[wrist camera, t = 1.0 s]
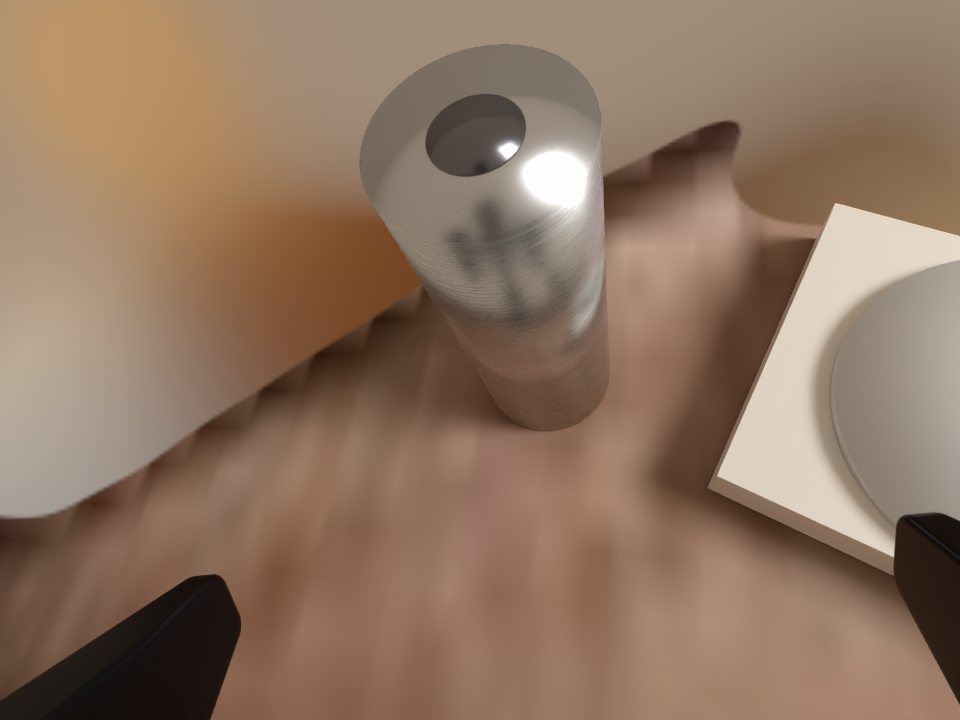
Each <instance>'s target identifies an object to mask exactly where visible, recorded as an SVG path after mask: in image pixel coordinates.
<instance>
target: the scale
mask: <svg viewBox="0 0 960 720" xmlns="http://www.w3.org/2000/svg"><path fill="white" fill-rule="evenodd" d="M707 488H708V489H710V490H712V491H714V492H716V493H719V494H721V495H723V496H725V497H727V498H729V499H731V500H733V501H736V502H738V503H740V504H742V505H744V506H746V507H748V508H750V509H753V510H755V511H757V512H759V513H761V514H763V515H765V516H767V517H770V518H772V519H774V520H776V521H778V522H780V523H782V524H784V525H787V526H789V527H791V528H793V529H795V530H797V531H799V532H801V533H804V534H806V535H808V536H810V537H812V538H814V539H816V540H818V541H820V542H823V543H825V544H827V545H829V546H831V547H833V548H835V549H837V550H840V551H842V552H844V553H846V554H848V555H850V556H852V557H854V558H857V559H859V560H861V561H863V562H865V563H867V564H869V565H871V566H874V567H876V568H878V569H880V570H882V571H884V572H886V573H888V574H891V575H893V576H894V573H893V563H894V548H895V532H896V524H897V521H898V519H899V518H900V517H901V516H903V515H906V514H916V513H927V512H939V513H943V514H946V515H948V516H950V517H953V518H955V519H957V520H960V236H957V235H953V234H950V233H946V232H942V231H938V230H935V229H931V228H927V227H923V226H919V225H916V224H912V223H908V222H904V221H900V220H897V219H893V218H889V217H886V216H882V215H878V214H874V213H871V212H867V211H863V210H860V209H855V208H852V207H848V206H844V205H841V204H837V203H835V205H834V207H833V209H832V210H831V213H830V214H829V216H828V218H827V220H826V221H825V223H824V225H823V227H822V228H821V230H820V232H819V234H818V236H817V238H816V240H815V242H814V244H813V247H812V249H811V251H810V253H809V256H808V258H807V260H806V263H805V265H804V267H803V269H802V272H801V274H800V276H799V279H798V281H797V283H796V285H795V288H794V290H793V292H792V295H791V297H790V299H789V302H788V304H787V306H786V308H785V311H784V313H783V315H782V318H781V320H780V322H779V324H778V327H777V329H776V331H775V334H774V336H773V338H772V340H771V343H770V345H769V347H768V350H767V352H766V354H765V356H764V359H763V361H762V363H761V366H760V368H759V370H758V372H757V375H756V377H755V379H754V382H753V384H752V386H751V388H750V391H749V393H748V395H747V398H746V400H745V402H744V405H743V407H742V409H741V411H740V414H739V416H738V418H737V421H736V423H735V425H734V427H733V430H732V432H731V434H730V437H729V439H728V441H727V443H726V446H725V448H724V450H723V453H722V455H721V457H720V459H719V462H718V464H717V466H716V469H715V471H714V473H713V475H712V478H711V480H710V482H709V485H708V487H707Z"/></svg>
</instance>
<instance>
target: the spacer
mask: <svg viewBox="0 0 960 720" xmlns="http://www.w3.org/2000/svg"><path fill="white" fill-rule="evenodd" d="M602 168H603V167H602V138H601V113H600V108H599V103H598V100H597V97H596V95H595V92H594V90H593V88H592V87H591V85H590V83H589V82H588V81H587V79H586V78H585V77H584V76H583V75H582V73H581V72H580V71H579V70H578V69H577V68H575V67H574V66H573V65H571V64H570V63H569V62H567V61H566V60H564V59H562V58H561V57H559V56H557V55H555V54H552V53H550V52H548V51H545V50H541V49H538V48H534V47H529V46H522V45H509V44H500V45H487V46H480V47H474V48H470V49H466V50H462V51H459V52H456V53H453V54H450V55H447V56H445V57H443V58H440V59H438V60H436V61H434V62H432V63H430V64H428V65H426V66H425V67H423V68H421V69H419V70H418V71H416V72H415V73H414V74H412V75H411V76H409V77H408V78H407V79H405V80H404V81H403V82H402V83H401V84H399V85H398V86H397V87H396V88H395V89H394V90H393V91H392V92H391V93H390V94H389V95H388V96H387V97H386V99H385V100H384V101H383V102H382V104H381V105H380V106H379V107H378V109H377V111H376V112H375V114H374V115H373V117H372V119H371V121H370V123H369V125H368V127H367V129H366V132H365V135H364V138H363V141H362V145H361V151H360V173H361V179H362V182H363V185H364V188H365V191H366V193H367V194H368V196H369V198H370V200H371V202H372V203H373V204H374V207H375V208H376V210H377V212H378V213H379V215H380V216H381V218H382V220H383V221H384V223H385V225H386V226H387V228H388V229H389V231H390V233H391V234H392V236H393V237H394V239H395V241H396V242H397V244H398V245H399V247H400V249H401V250H402V252H403V254H404V255H405V257H406V258H407V260H408V262H409V263H410V265H411V266H412V268H413V270H414V271H415V273H416V275H417V276H418V278H419V279H420V281H421V283H422V284H423V286H424V288H425V289H426V291H427V292H428V294H429V296H430V297H431V299H432V300H433V302H434V304H435V305H436V307H437V309H438V310H439V312H440V313H441V315H442V317H443V318H444V320H445V322H446V323H447V325H448V326H449V328H450V330H451V331H452V333H453V334H454V336H455V338H456V339H457V341H458V343H459V344H460V346H461V347H462V349H463V351H464V352H465V354H466V355H467V357H468V359H469V360H470V362H471V364H472V365H473V367H474V368H475V370H476V372H477V373H478V375H479V376H480V378H481V380H482V381H483V383H484V385H485V386H486V388H487V389H488V391H489V393H490V394H491V396H492V398H493V399H494V401H495V402H496V404H497V405H498V407H499V408H500V410H501V411H502V412H503V413H504V414H505V415H506V416H507V417H508V418H510V419H511V420H512V421H514V422H516V423H517V424H519V425H521V426H524V427H526V428H529V429H533V430H539V431H554V430H561V429H564V428H568V427H570V426H573V425H575V424H577V423H579V422H581V421H582V420H584V419H585V418H586V417H588V416H589V415H590V414H591V413H592V412H593V411H594V410H595V409H596V408H597V406H598V405H599V404H600V402H601V400H602V399H603V397H604V395H605V392H606V390H607V386H608V382H609V349H608V319H607V288H606V258H605V227H604V197H603V169H602Z"/></svg>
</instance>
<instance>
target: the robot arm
mask: <svg viewBox="0 0 960 720" xmlns="http://www.w3.org/2000/svg"><path fill="white" fill-rule="evenodd" d="M893 573H894V578H895V582H896V585H897V588H898V590H899V592H900V594H901V596H902V598H903V600H904V602H905V603H906V605H907V607H908V609H909V611H910V613H911V615H912V617H913V618H914V620H915V622H916V624H917V626H918V628H919V630H920V632H921V633H922V635H923V637H924V639H925V641H926V643H927V645H928V647H929V648H930V650H931V652H932V654H933V656H934V658H935V660H936V662H937V663H938V665H939V667H940V669H941V671H942V673H943V675H944V676H945V678H946V680H947V682H948V684H949V686H950V688H951V690H952V691H953V693H954V695H955V697H956V699H957V701H958V702H959V704H960V520H957V519H955V518H953V517H950V516H948V515H946V514H943V513H939V512H927V513H916V514H906V515H903V516H901V517H900V518H899V519H898V521H897V524H896V532H895V548H894V563H893ZM240 631H241V618H240V614H239V612H238V610H237V607H236V605H235V603H234V601H233V598H232V596H231V594H230V592H229V589H228V587H227V585H226V582H225V581H224V579H223V578H222V577H220V576H219V575H215V574H212V575H200V576H193V577H190V578H188V579H186V580H185V581H183V582H182V583H180V584H179V585H177V586H176V587H174V588H172V589H171V590H169V591H168V592H166V593H165V594H163V595H162V596H160V597H159V598H157V599H156V600H154V601H153V602H151V603H149V604H148V605H146V606H145V607H143V608H142V609H140V610H139V611H137V612H136V613H134V614H133V615H131V616H129V617H128V618H126V619H125V620H123V621H122V622H120V623H119V624H117V625H116V626H114V627H113V628H111V629H110V630H108V631H106V632H105V633H103V634H102V635H100V636H99V637H97V638H96V639H94V640H93V641H91V642H90V643H88V644H86V645H85V646H83V647H82V648H80V649H79V650H77V651H76V652H74V653H73V654H71V655H70V656H68V657H67V658H65V659H63V660H62V661H60V662H59V663H57V664H56V665H54V666H53V667H51V668H50V669H48V670H47V671H45V672H43V673H42V674H40V675H39V676H37V677H36V678H34V679H33V680H31V681H30V682H28V683H27V684H25V685H24V686H22V687H20V688H19V689H17V690H16V691H14V692H13V693H11V694H10V695H8V696H7V697H5V698H4V699H2V700H0V720H210V719H211V716H212V713H213V710H214V708H215V705H216V702H217V699H218V696H219V693H220V690H221V687H222V685H223V682H224V679H225V676H226V673H227V670H228V667H229V664H230V662H231V659H232V656H233V653H234V650H235V647H236V644H237V641H238V638H239V635H240Z"/></svg>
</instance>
